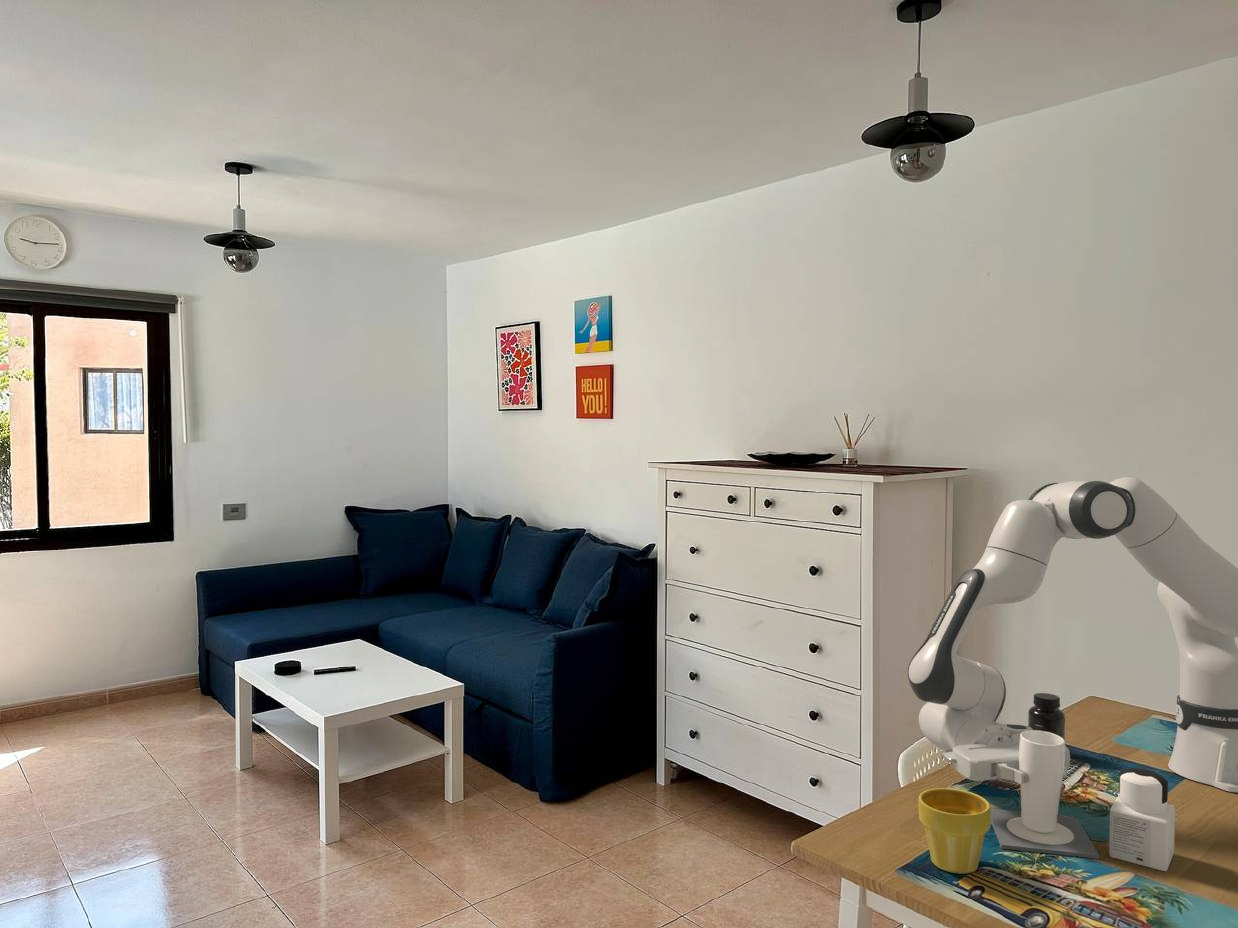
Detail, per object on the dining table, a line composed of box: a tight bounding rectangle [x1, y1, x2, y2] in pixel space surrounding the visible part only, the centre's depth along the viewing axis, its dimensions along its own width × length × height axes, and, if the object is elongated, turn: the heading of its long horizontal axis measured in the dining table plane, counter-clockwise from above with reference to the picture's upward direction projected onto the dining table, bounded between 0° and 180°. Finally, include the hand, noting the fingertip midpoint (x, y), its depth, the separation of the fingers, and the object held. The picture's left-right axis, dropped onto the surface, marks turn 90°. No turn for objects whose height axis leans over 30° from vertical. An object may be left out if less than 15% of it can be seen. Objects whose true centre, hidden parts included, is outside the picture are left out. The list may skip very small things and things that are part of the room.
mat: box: [990, 808, 1100, 860], centre depth 144 cm, size 14×14×1 cm
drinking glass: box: [1019, 730, 1066, 833], centre depth 143 cm, size 7×7×15 cm
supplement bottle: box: [1027, 692, 1066, 742], centre depth 180 cm, size 7×7×12 cm
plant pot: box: [918, 787, 992, 875], centre depth 134 cm, size 10×10×10 cm
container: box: [1108, 767, 1176, 872], centre depth 136 cm, size 8×8×13 cm
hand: (1044, 776), depth 142 cm, fingers closed on drinking glass, 6 cm apart
